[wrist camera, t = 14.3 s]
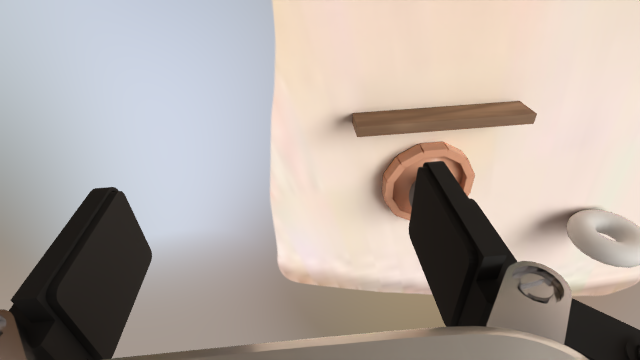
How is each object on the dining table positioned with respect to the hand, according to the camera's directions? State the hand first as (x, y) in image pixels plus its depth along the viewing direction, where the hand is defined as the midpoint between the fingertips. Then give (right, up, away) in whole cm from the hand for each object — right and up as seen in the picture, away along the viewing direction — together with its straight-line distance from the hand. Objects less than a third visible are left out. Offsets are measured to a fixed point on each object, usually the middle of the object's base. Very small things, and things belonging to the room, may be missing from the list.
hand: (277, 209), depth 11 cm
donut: (+42, -4, +42) cm, 60 cm away
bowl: (+16, +1, +36) cm, 39 cm away
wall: (+15, +9, +30) cm, 35 cm away
